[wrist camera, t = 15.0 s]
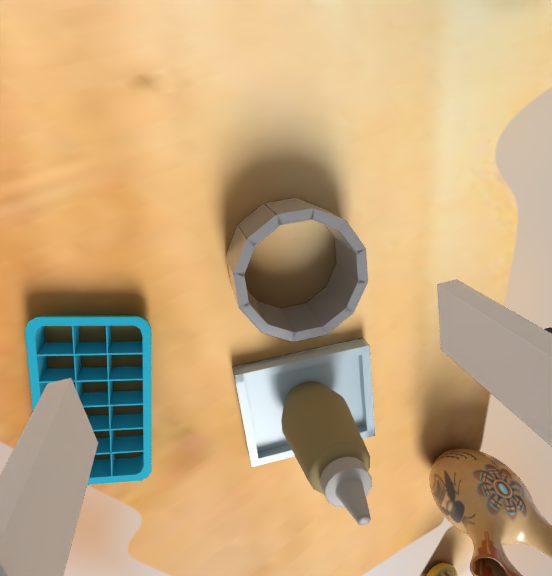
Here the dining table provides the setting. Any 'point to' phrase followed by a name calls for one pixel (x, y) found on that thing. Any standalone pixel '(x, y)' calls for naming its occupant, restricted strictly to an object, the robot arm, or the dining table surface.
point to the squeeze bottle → (328, 446)
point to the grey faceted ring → (322, 307)
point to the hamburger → (442, 570)
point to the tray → (289, 373)
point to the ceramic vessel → (488, 508)
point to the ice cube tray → (41, 376)
